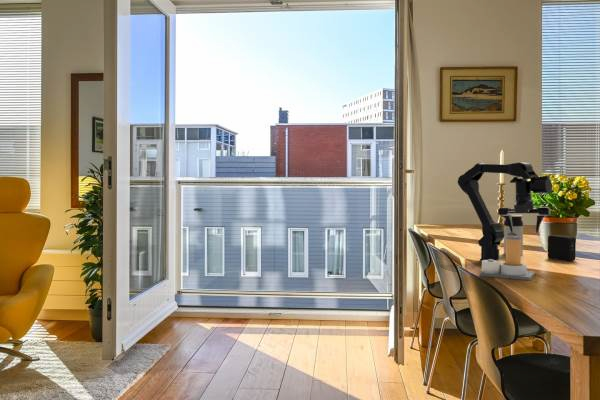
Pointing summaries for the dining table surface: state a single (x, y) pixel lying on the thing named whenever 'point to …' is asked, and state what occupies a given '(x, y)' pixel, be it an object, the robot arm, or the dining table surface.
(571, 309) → the dining table surface
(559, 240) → the electronic device
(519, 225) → the travel mug
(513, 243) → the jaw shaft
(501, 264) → the housing
